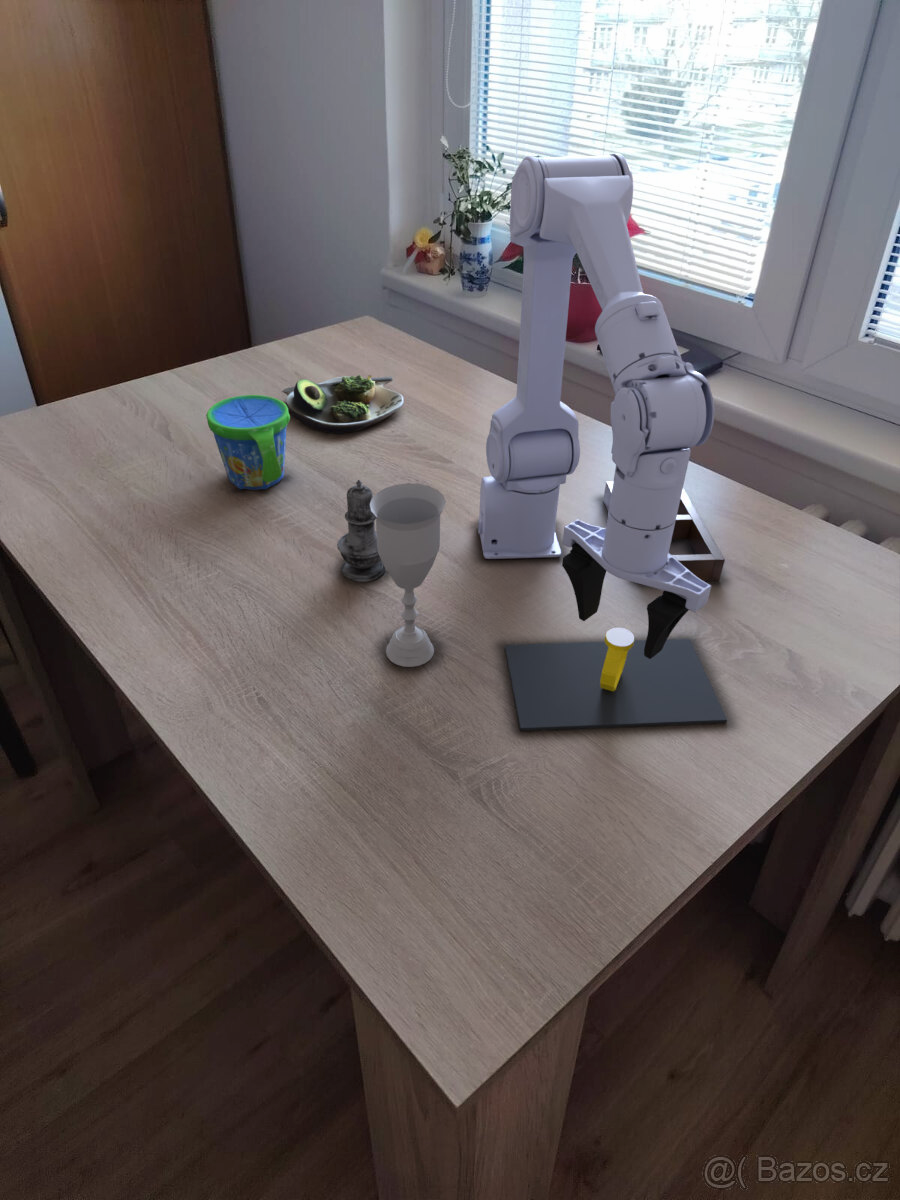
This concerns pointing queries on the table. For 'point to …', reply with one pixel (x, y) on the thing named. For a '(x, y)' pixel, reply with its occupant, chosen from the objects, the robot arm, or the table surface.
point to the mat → (642, 697)
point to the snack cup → (251, 439)
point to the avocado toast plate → (342, 403)
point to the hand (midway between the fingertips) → (619, 633)
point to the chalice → (408, 557)
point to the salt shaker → (360, 538)
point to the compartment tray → (690, 539)
